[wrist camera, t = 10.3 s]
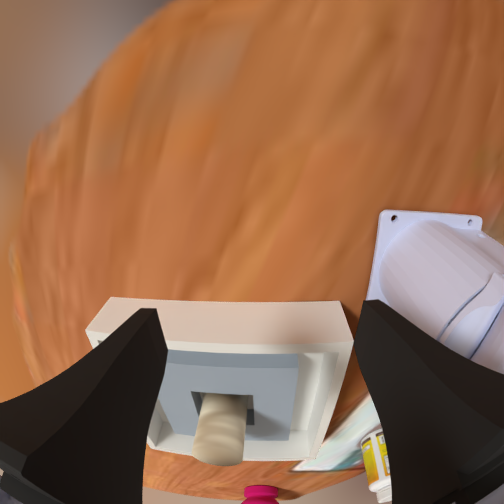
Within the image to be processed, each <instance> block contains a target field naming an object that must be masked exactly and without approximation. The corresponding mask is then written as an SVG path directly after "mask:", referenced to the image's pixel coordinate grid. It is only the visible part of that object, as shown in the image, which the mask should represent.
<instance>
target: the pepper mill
mask: <svg viewBox="0 0 504 504" xmlns="http://www.w3.org/2000/svg"><path fill="white" fill-rule="evenodd" d="M244 496H245V497H246V498H247V499H246V500H245V501H243V502H242V503H241V504H279V503H278V502H277V501H276V500H275V498H276V497H278V489H277V488H276V487H272V486H265V485H254V486H249V487H246V488H245V491H244Z"/></svg>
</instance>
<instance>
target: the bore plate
mask: <svg viewBox="0 0 504 504" xmlns="http://www.w3.org/2000/svg"><path fill="white" fill-rule="evenodd" d="M298 370H299V365H298V355H297V354H240V353H213V352H196V351H183V350H171V349H168V355H167V362H166V368H165V374H164V378H163V381H162V384H161V388H160V391H159V395H158V399H159V401H160V403H161V405H162V408H163V410H164V412H165V414H166V416H167V418H168V420H169V422H170V424H171V427H172V429H173V431H174V433H176V434H182V435H190V436H195V434H196V429H197V425H198V420H199V416H200V411H201V407H202V399H201V395H200V392H205V393H219V394H238V395H253V402H254V409H247V417H246V429H245V440H254V441H286V440H289V434H290V428H291V421H292V415H293V408H294V401H295V393H296V386H297V378H298Z"/></svg>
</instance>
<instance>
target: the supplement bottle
mask: <svg viewBox="0 0 504 504" xmlns="http://www.w3.org/2000/svg"><path fill="white" fill-rule="evenodd" d="M361 448H362V453H363V458H364V463H365V468H366V474H367V479H368V485H369V489H370V491H372V492H377V493H376V494H377V499H378V502H379V503H383V502H388V501H392V489H391V478H390V468H389V461H388V455H387V449H386V444H385V439H384V435H383V430H382V428H381V429H378V430H376V431H373V432H371V433H370V434H368V435H367V436H365V437H364V438H363V440H362V441H361Z"/></svg>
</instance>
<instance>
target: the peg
mask: <svg viewBox="0 0 504 504" xmlns="http://www.w3.org/2000/svg"><path fill="white" fill-rule="evenodd" d="M247 406H248V395H238V394H219V393H204V398H203V402H202V407H201V411H200V416H199V420H198V425H197V429H196V434H195V438H194V443H193V448H192V455H193V456H194V457H195V458H196V459H198V460H200V461H202V462H204V463H208V464H212V465H217V466H233V465H237V464H240V463H241V462H242V461H243V451H244V440H245V429H246V417H247Z"/></svg>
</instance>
